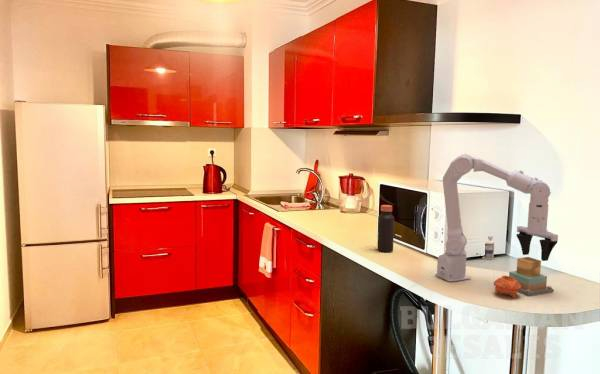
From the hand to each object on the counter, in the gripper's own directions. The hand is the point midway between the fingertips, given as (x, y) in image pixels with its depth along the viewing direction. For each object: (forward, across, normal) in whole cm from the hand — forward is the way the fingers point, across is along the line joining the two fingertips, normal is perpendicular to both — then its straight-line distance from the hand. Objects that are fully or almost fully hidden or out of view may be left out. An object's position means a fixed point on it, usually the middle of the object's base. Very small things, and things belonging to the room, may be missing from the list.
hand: (534, 257), depth 153 cm
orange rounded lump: (+11, -2, +14) cm, 18 cm away
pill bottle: (+11, +34, -12) cm, 38 cm away
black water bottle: (+10, +58, +22) cm, 63 cm away
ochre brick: (+6, 0, +2) cm, 6 cm away
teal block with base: (+10, 0, +3) cm, 11 cm away
